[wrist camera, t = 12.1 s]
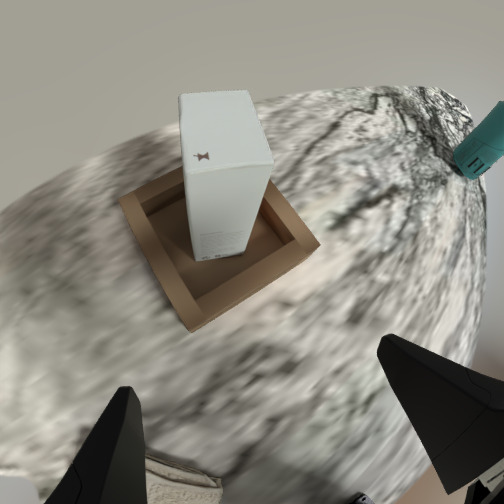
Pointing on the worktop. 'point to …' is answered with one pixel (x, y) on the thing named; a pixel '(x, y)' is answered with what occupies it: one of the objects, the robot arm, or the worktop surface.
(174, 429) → the worktop surface
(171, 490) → the washcloth
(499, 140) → the beverage bottle
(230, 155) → the skincare box
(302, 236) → the walnut holder
